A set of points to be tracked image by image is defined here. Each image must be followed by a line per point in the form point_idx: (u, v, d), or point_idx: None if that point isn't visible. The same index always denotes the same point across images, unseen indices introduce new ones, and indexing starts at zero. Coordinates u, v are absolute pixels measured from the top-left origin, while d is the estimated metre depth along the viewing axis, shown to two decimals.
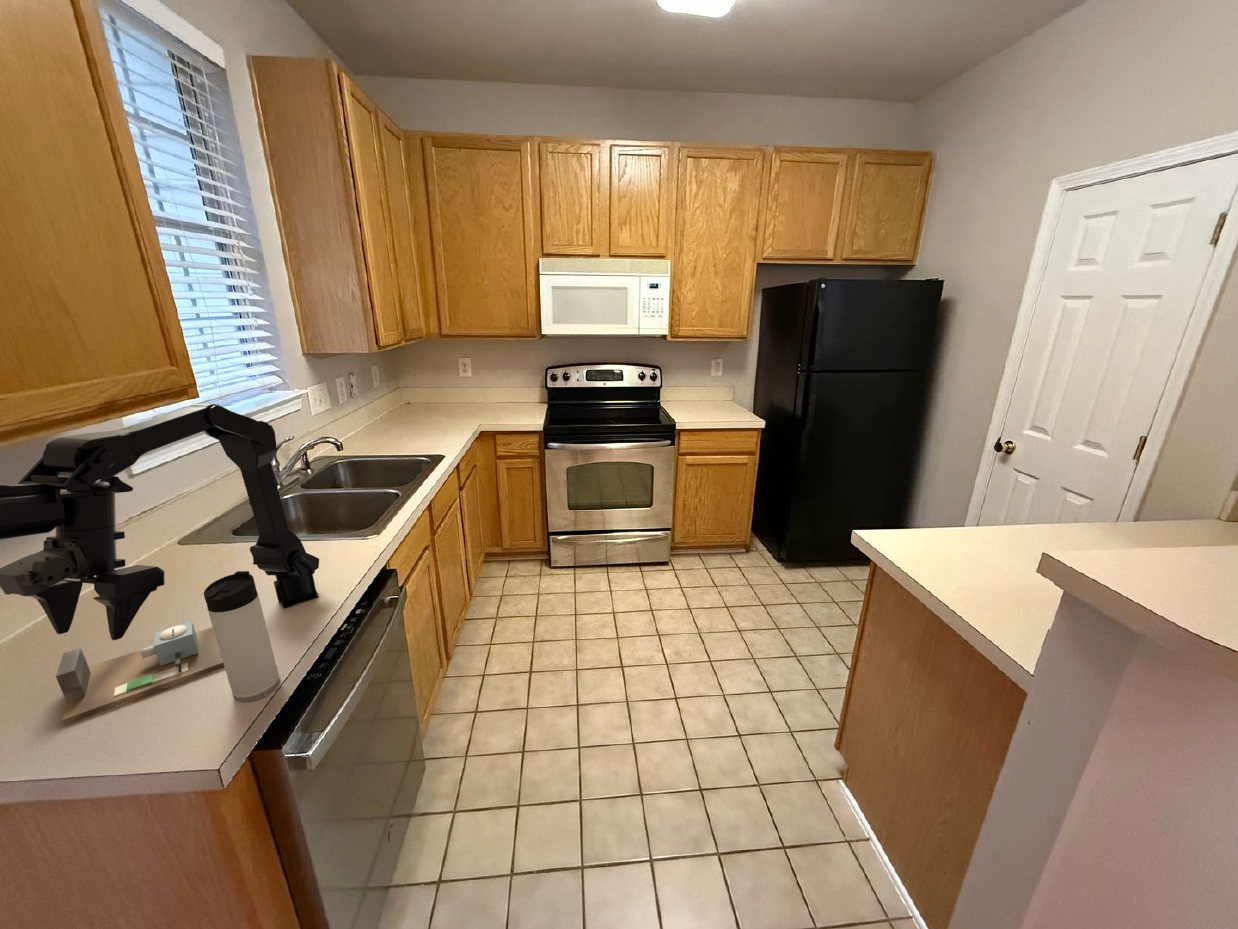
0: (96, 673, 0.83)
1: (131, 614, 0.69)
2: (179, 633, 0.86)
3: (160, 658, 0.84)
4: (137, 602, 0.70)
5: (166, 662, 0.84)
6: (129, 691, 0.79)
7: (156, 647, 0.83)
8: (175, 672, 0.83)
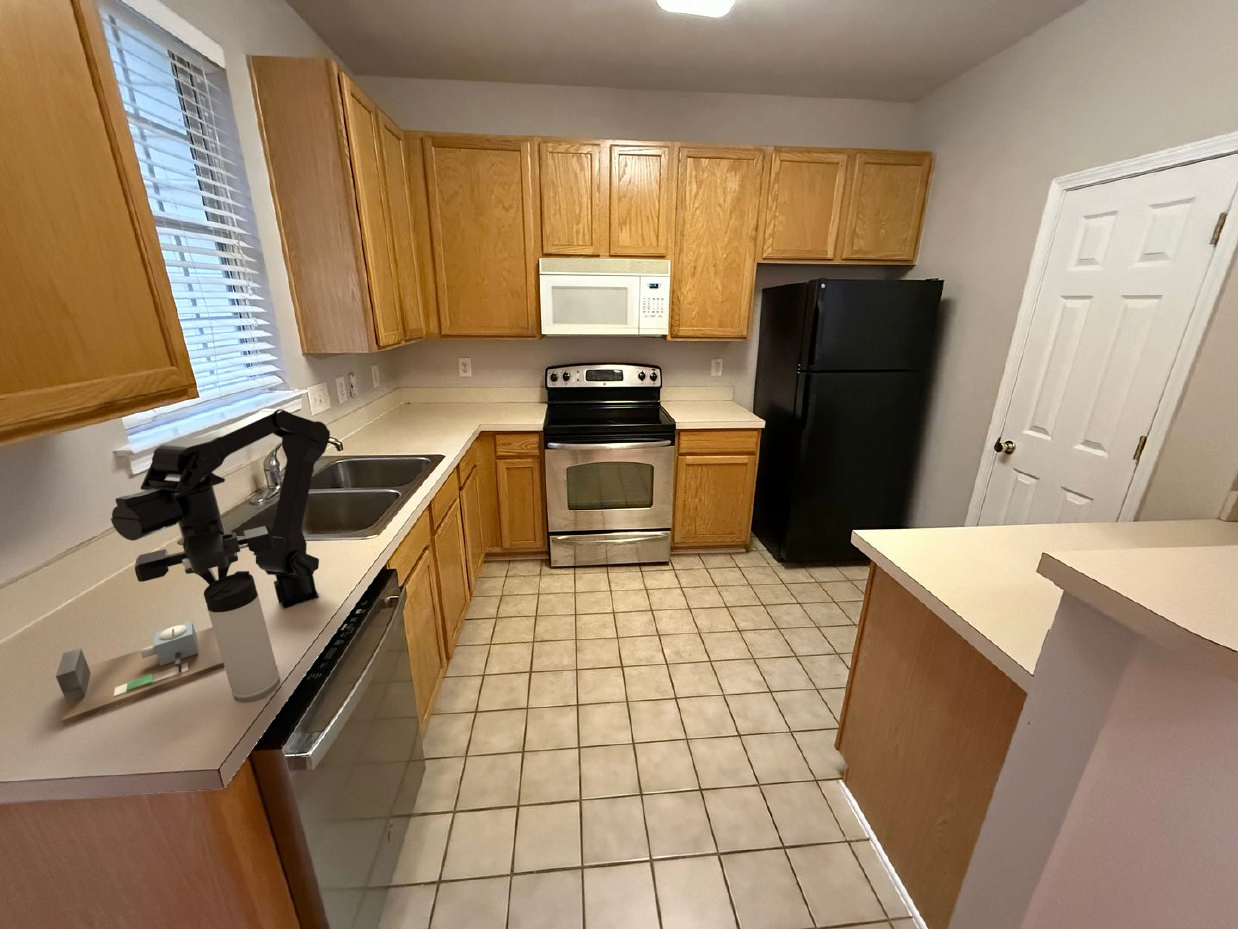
0: (96, 673, 0.83)
1: None
2: (179, 633, 0.86)
3: (160, 658, 0.84)
4: None
5: (166, 662, 0.84)
6: (129, 691, 0.79)
7: (156, 647, 0.83)
8: (175, 672, 0.83)
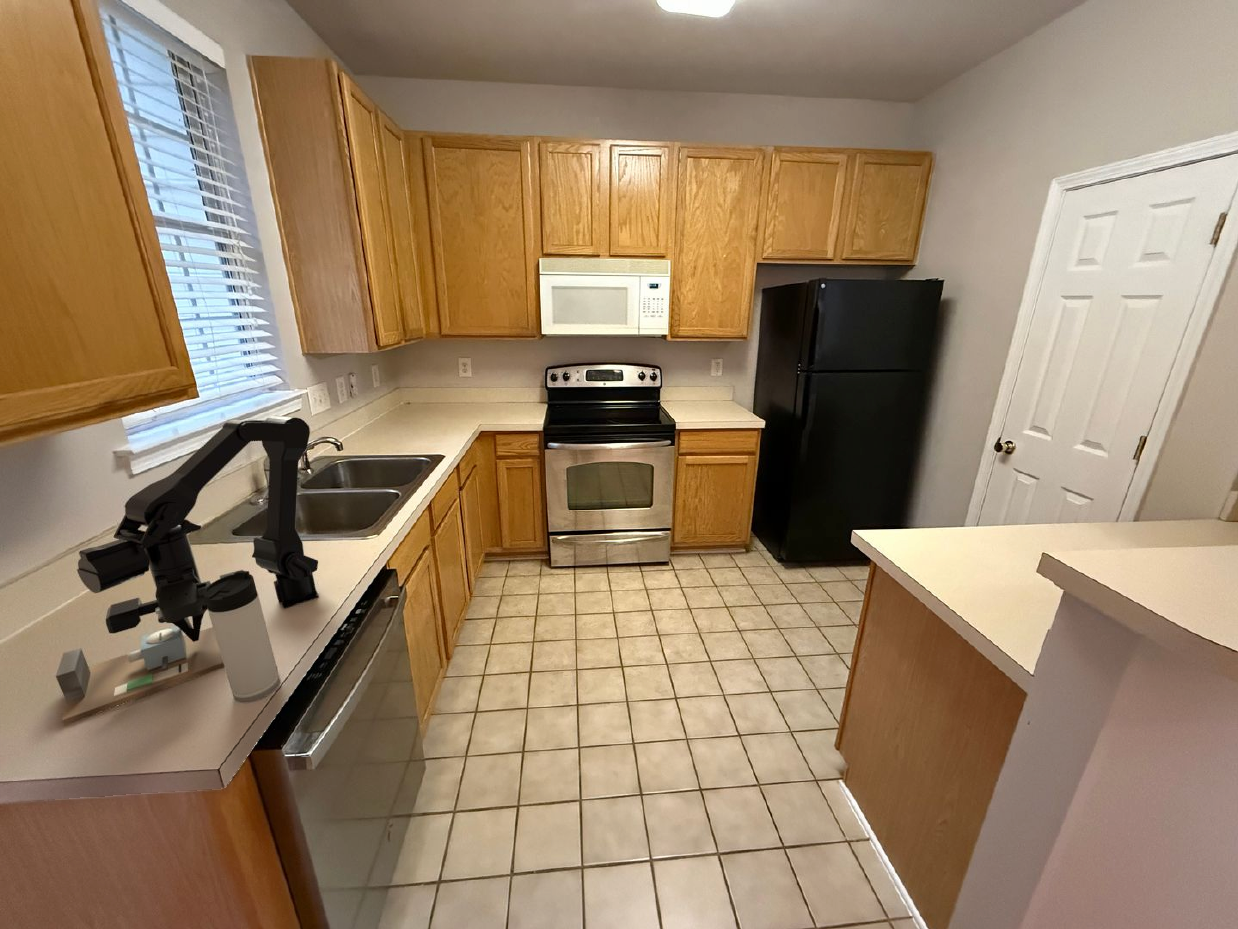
0: (96, 673, 0.83)
1: None
2: (166, 637, 0.85)
3: (147, 662, 0.83)
4: None
5: (153, 667, 0.83)
6: (129, 691, 0.79)
7: (143, 651, 0.82)
8: (175, 672, 0.83)
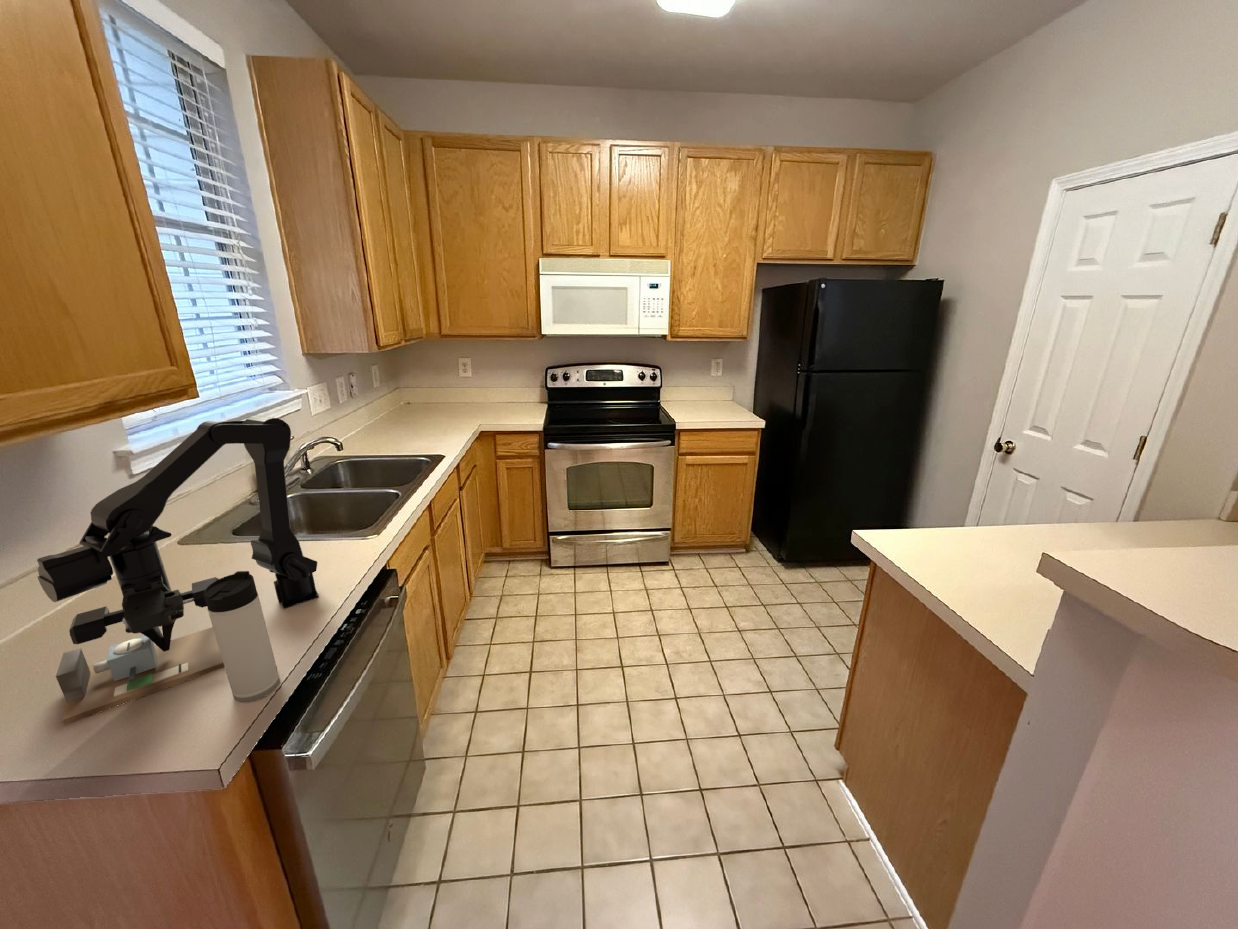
0: None
1: None
2: (135, 647, 0.82)
3: (114, 673, 0.80)
4: None
5: (121, 678, 0.81)
6: (129, 691, 0.79)
7: (109, 662, 0.80)
8: (175, 672, 0.83)
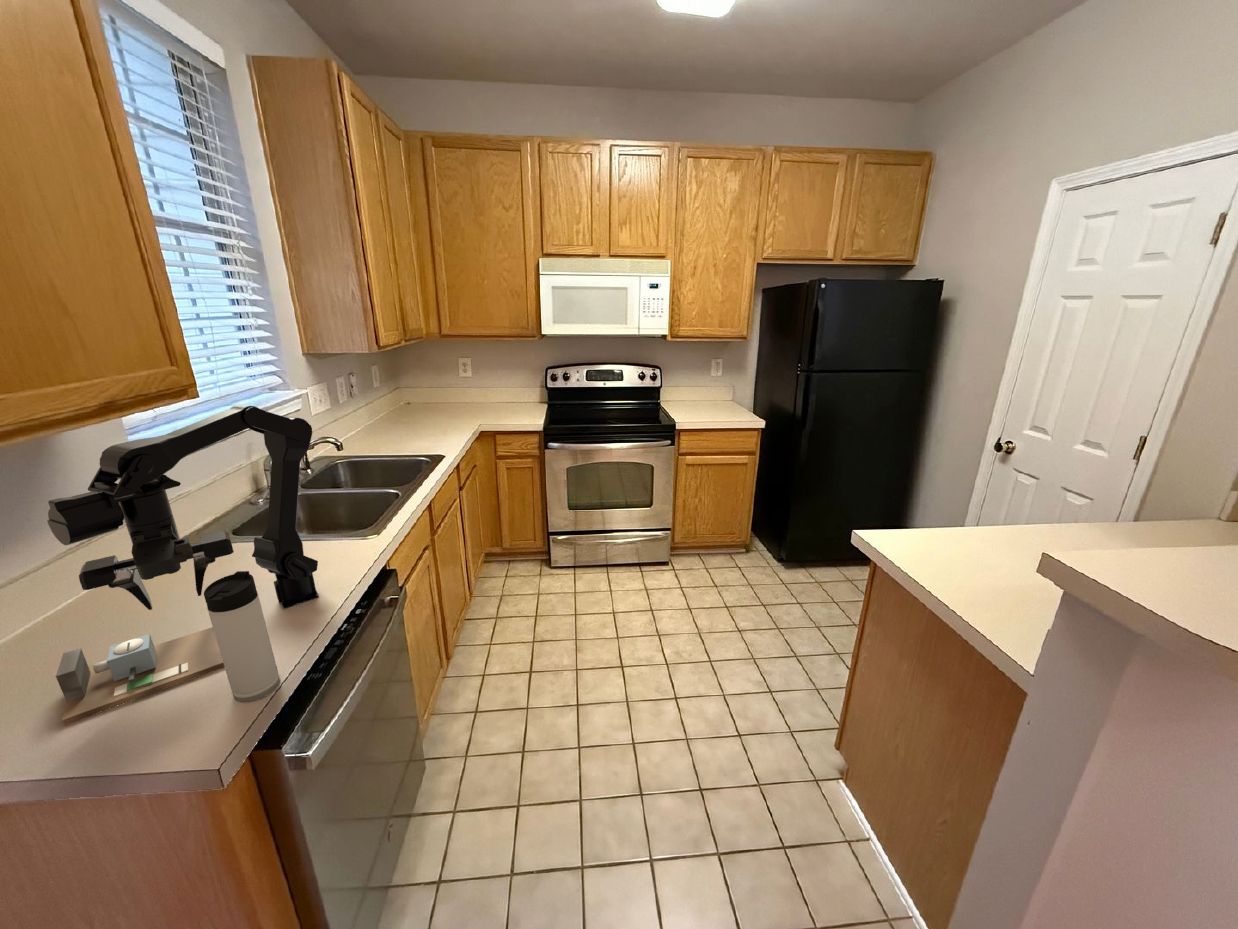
0: None
1: None
2: (135, 647, 0.82)
3: (114, 673, 0.80)
4: None
5: (121, 678, 0.81)
6: (129, 691, 0.79)
7: (109, 662, 0.80)
8: (175, 672, 0.83)
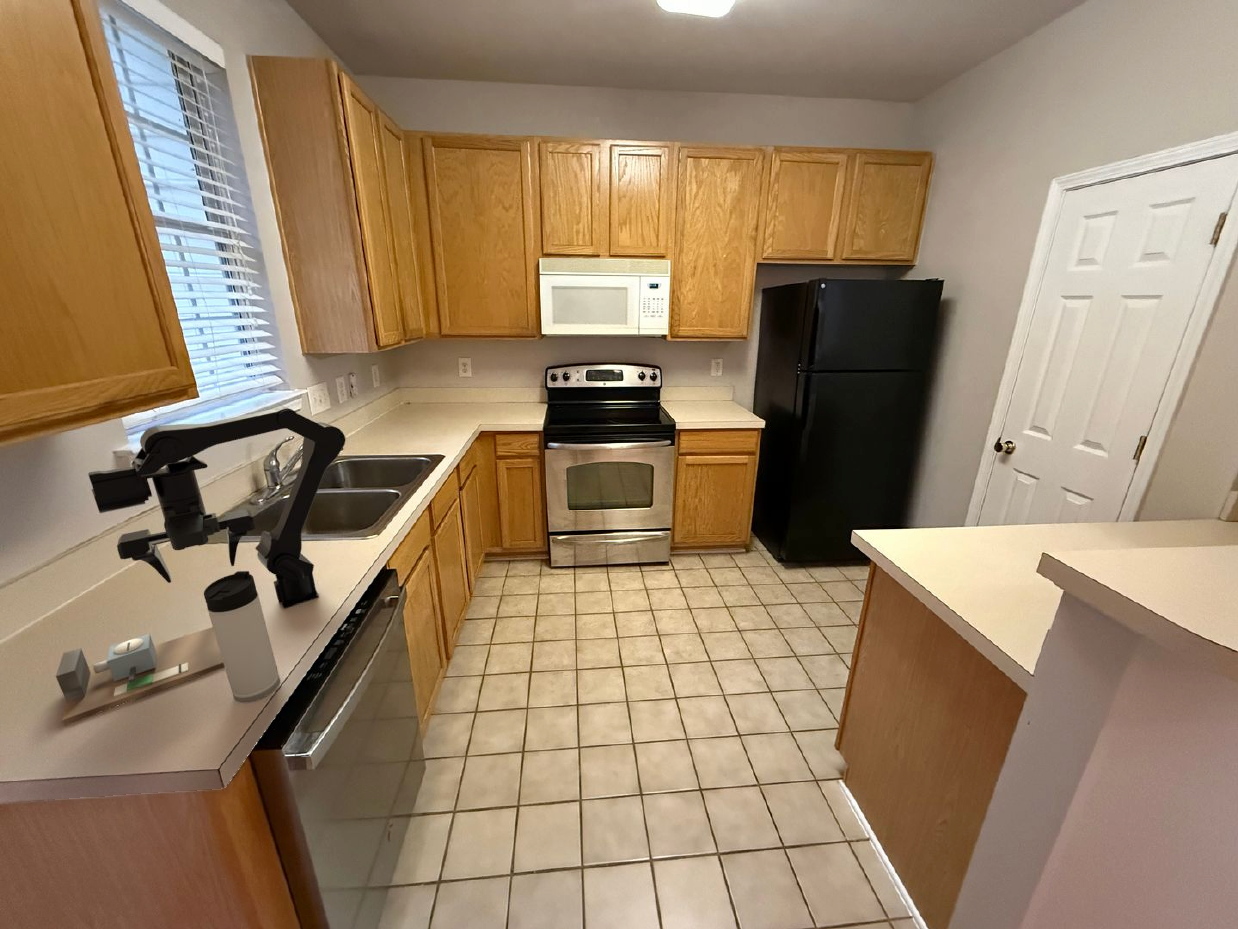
0: None
1: None
2: (135, 647, 0.82)
3: (114, 673, 0.80)
4: None
5: (121, 678, 0.81)
6: (129, 691, 0.79)
7: (109, 662, 0.80)
8: (175, 672, 0.83)
